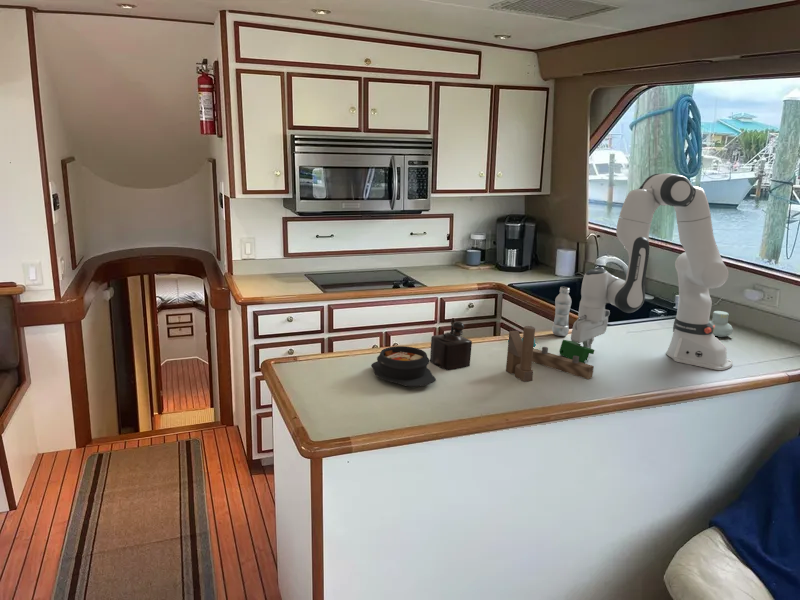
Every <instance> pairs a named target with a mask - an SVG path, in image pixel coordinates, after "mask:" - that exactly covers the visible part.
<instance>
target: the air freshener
mask: <svg viewBox="0 0 800 600" xmlns="http://www.w3.org/2000/svg"><path fill="white" fill-rule="evenodd" d="M729 315H730V314H729V312H727V311H723V310H722V311H721V310H714V311H713V312H712V318H711V320H709V323H710V324H711V325H712V326H714V325H715V327H714V329H713V333H712V334H713V335H714V336H718V337H717V338H725V337H728V336H731V335H732V334H733V332H734V328H733V326H732V325H731V324H730V323H729Z"/></svg>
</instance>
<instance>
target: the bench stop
mask: <svg viewBox="0 0 800 600" xmlns="http://www.w3.org/2000/svg"><path fill="white" fill-rule="evenodd" d="M548 351H549V347H547V346H542V348H541V350H540V349H534V348H533V356H532V363H534V362H535V364H538V365H540V366H544V367H548V368H551V369H553V370H557V371H560V372H564V373H566V374H569V375H572V376H575V377H579V378H582V379H585V380H589V379H592V378H593V375H594V365H591V364H588V363H586V362H584V363H582V362H579V356H573V360H572V359H569V358H566V357H564V356H562V355H557V354H554V353H551V352H548Z"/></svg>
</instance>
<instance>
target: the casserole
mask: <svg viewBox="0 0 800 600" xmlns="http://www.w3.org/2000/svg"><path fill="white" fill-rule="evenodd" d="M376 360H377V361H374V362H372V363H371V365H370V366H371V368H372V369H373V372H374V374H375V376H376V377H377V378H379V379H381V380H384V381H386V382H390V383H394V384H399V385H402V386H404V387H410V388H411V387H412V388H416V387H424V386H428V385H431V384H433V383H435V382H436V381H437V378H436V377H435V376H434V375H433V374H432V372H431V370H430V369H429V368H428V365H429V363H431V362H430V358H429V357H428V354H427V353H426V351H424V350H422V349H420V348H416V347H412V346H404V345H402V346H401V345H400V346H399V345H398V346H389V347H385V348H384V349H382V350H380V353H379V355H378V356H377V357H376Z"/></svg>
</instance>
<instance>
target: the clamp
mask: <svg viewBox="0 0 800 600" xmlns="http://www.w3.org/2000/svg"><path fill="white" fill-rule="evenodd" d="M595 351H596V350H595V349H593V348H592V347H591V348H587V347H583V346H582V343H576V342H573V341H572V340H567V339H562V341H561V345H560V348H559V352H558V353H559V356H561V357H565V358H568V359H572V360H573V356H579V362H582V363H586V361H588V358H589V355H591V354H592V355H594V353H595Z"/></svg>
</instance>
